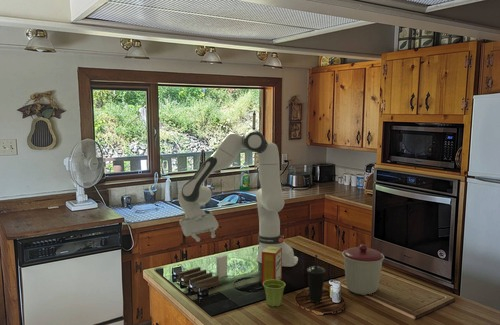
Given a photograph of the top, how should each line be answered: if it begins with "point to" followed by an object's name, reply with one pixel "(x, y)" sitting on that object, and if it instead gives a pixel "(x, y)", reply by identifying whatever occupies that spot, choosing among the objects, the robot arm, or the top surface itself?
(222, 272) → the clay tile
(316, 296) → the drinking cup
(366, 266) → the canister
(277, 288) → the plant pot
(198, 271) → the rack
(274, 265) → the baking soda box
